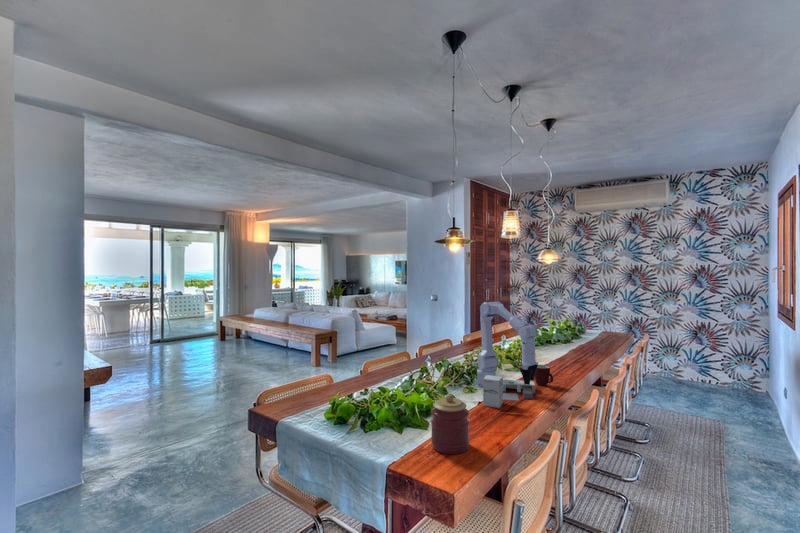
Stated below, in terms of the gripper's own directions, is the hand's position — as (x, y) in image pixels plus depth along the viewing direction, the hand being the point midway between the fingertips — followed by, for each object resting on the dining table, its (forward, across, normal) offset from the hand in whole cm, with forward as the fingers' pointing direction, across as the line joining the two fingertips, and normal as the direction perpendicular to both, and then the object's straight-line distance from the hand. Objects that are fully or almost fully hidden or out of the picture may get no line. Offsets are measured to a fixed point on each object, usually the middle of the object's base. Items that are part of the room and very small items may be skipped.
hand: (529, 382), depth 175 cm
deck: (+9, +1, +10) cm, 13 cm away
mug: (+9, +28, -1) cm, 29 cm away
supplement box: (+9, -13, +13) cm, 20 cm away
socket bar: (+9, +13, +8) cm, 18 cm away
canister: (+9, -58, +13) cm, 60 cm away
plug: (+9, +6, +2) cm, 11 cm away
